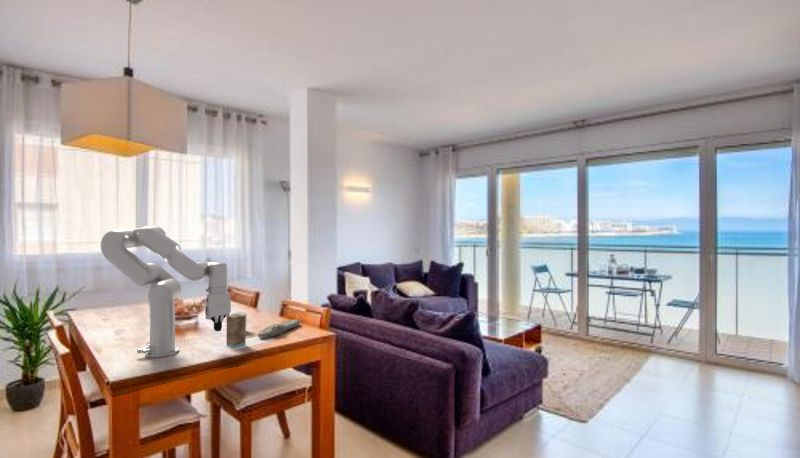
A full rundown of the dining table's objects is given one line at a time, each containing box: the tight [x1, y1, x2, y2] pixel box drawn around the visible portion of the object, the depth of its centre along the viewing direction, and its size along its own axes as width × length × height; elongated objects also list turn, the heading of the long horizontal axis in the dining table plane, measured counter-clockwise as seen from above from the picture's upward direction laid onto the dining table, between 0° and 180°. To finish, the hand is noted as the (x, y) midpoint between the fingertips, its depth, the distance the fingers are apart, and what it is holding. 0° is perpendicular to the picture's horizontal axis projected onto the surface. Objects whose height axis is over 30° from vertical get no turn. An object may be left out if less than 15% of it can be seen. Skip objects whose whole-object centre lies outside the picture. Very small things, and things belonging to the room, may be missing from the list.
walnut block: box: [225, 314, 247, 348], centre depth 191 cm, size 6×6×14 cm
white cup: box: [230, 311, 248, 326], centre depth 215 cm, size 8×8×10 cm
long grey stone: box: [257, 319, 301, 338], centre depth 217 cm, size 35×5×10 cm
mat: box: [221, 335, 277, 351], centre depth 196 cm, size 22×12×1 cm, turn 142°
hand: (217, 330), depth 184 cm, fingers closed
